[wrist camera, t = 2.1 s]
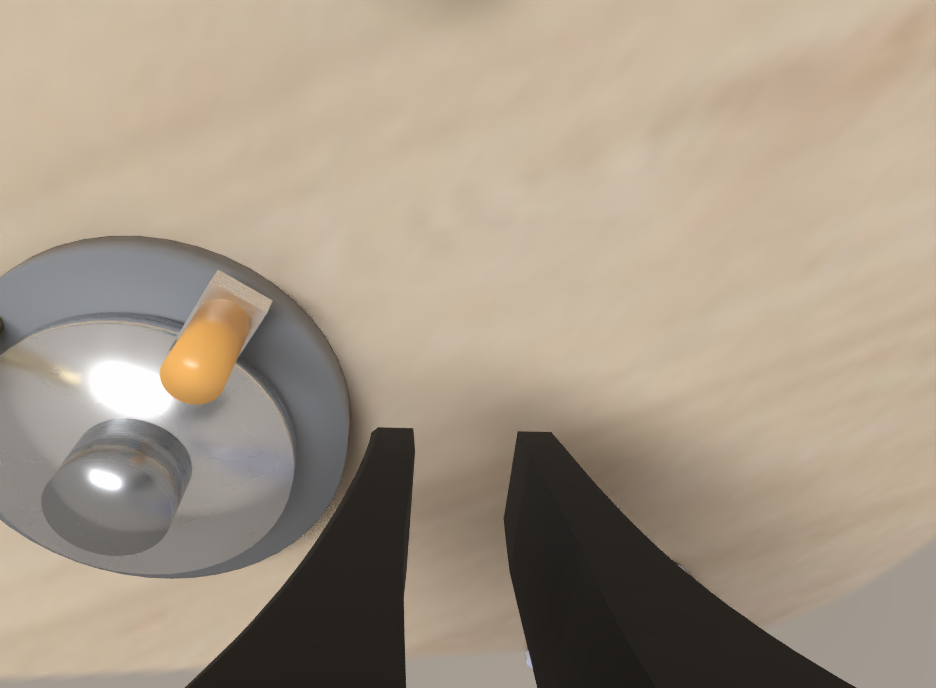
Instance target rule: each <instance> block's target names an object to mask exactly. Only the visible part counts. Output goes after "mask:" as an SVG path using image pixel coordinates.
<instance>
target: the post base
mask: <svg viewBox="0 0 936 688" xmlns="http://www.w3.org/2000/svg"><path fill="white" fill-rule="evenodd" d="M217 270H220V271H221V272H223V273H225V274H227V275H229V276H230V277H232V278H234V279H236V280H237V281H239V282H241V283H243V284H244V285H246V286H248V287H250V288H251V289H253V290H255V291H257V292H258V293H260V294H262V295H264V296H265V297H267V298H269V299H271V300H272V303H271V305H270V308H269V310H268V312H267V314H266V316H265V317H264V319H263V320H262V322H261V323H260V325H259V326H258V328H257V329H256V331H255V333H254V334H253V336H252V337H251V339H250V340H249V342H248V343H247V345H246V346H245V348H244V349H243V351H242V352H241V354H240V355H241V356H242V357H244V358H245V359H246V360H248V361H249V362H250V363H251V364H252V365H253V366H254V367H255V368H256V369H257V370H258V371H259V372H260V373H261V374H262V375H263V376H264V377H265V378H266V379H267V381H268V382H269V383H270V384H271V386H272V387H273V388H274V389H275V391H276V392H277V394H278V396H279V397H280V399H281V401H282V402H283V404H284V405H285V408H286V410H287V412H288V415H289V417H290V419H291V422H292V426H293V429H294V433H295V437H296V448H297V459H296V469H295V473H294V478H293V482H292V486H291V490H290V495H289V499H288V501H287V503H286V506H285V508H284V510H283V512H282V514H281V515H280V517H279V519H278V520H277V522H276V523H275V525H274V526H273V527H272V528H271V529H270V530H269V531H268V533H267V534H266V535H265V536H264V537H263V538H262V539H260V540H259V541H258V542H257V543H256V544H254V545H253V546H252V547H250V548H249V549H247V550H246V551H244V552H242V553H241V554H239V555H237V556H235V557H233V558H231V559H229V560H227V561H225V562H222V563H219V564H216V565H213V566H210V567H207V568H203V569H199V570H194V571H190V572H183V573H175V574H155V575H150V574H133V573H126V572H119V571H112V570H108V569H104V568H99V567H95V566H92V565H89V564H85V563H82V562H79V561H76V560H74V559H71V558H69V557H66V556H64V555H62V554H59V553H57V552H55V551H53V550H51V549H49V548H48V547H46V546H44V545H42V544H40V543H38V542H37V541H35V540H34V539H32V538H31V537H29V536H28V535H26V534H25V533H23V532H22V531H21V530H19V529H18V528H17V527H16V526H14V525H13V524H12V523H11V522H10V521H8V520H7V519H6V518H5V517H4V516H3V515H2V514H1V513H0V520H2V521H3V522H4V523H5V524H7V525H8V526H9V527H11V528H12V529H14V530H15V531H17V532H18V533H20V534H21V535H23V536H24V537H26V538H28V539H29V540H31V541H33V542H35V543H36V544H38V545H40V546H42V547H44V548H46V549H48V550H50V551H52V552H54V553H56V554H59V555H61V556H64V557H66V558H69V559H71V560H73V561H76V562H79V563H82V564H85V565H89V566H92V567H95V568H98V569H102V570H107V571H111V572H116V573H120V574H125V575H133V576H140V577H148V578H170V579H172V578H195V577H202V576H209V575H216V574H221V573H225V572H229V571H233V570H237V569H241V568H243V567H246V566H249V565H252V564H255V563H258V562H260V561H262V560H264V559H266V558H268V557H270V556H272V555H274V554H276V553H278V552H280V551H281V550H283V549H284V548H286V547H288V546H289V545H291V544H292V543H294V542H295V541H296V540H297V539H299V538H300V537H301V536H302V535H303V534H305V533H306V532H307V531H308V530H309V529H310V528H311V527H312V526H313V525H314V524H315V523H316V521H317V520H318V519H319V518H320V517H321V516H322V515H323V513H324V511H325V510H326V508H327V507H328V505H329V504H330V502H331V501H332V499H333V497H334V495H335V493H336V490H337V488H338V486H339V484H340V481H341V477H342V473H343V470H344V466H345V460H346V453H347V445H348V437H349V426H350V404H349V395H348V391H347V386H346V382H345V377H344V375H343V372H342V370H341V367H340V365H339V362H338V359H337V357H336V355H335V353H334V352H333V350H332V348H331V346H330V344H329V343H328V341H327V339H326V337H325V336H324V335H323V333H322V332H321V331H320V329H319V328H318V327H317V325H316V324H315V323H314V321H313V320H312V319H311V318H310V317H309V316H308V315H307V313H306V312H305V311H304V310H303V309H302V308H301V307H300V306H299V305H298V304H297V303H296V302H295V301H294V300H293V299H292V298H290V297H289V296H288V295H287V294H285V293H284V292H283V291H282V290H280V289H279V288H278V287H277V286H276V285H274V284H273V283H272V282H270V281H268V280H267V279H265V278H264V277H262V276H261V275H259V274H257V273H256V272H254V271H253V270H251V269H250V268H247V267H245V266H243V265H241V264H239V263H237V262H235V261H233V260H231V259H229V258H227V257H225V256H222V255H220V254H217V253H214V252H211V251H208V250H206V249H203V248H200V247H197V246H193V245H189V244H185V243H181V242H176V241H172V240H168V239H159V238H151V237H142V236H107V237H99V238H91V239H83V240H79V241H75V242H71V243H67V244H63V245H60V246H56V247H54V248H51V249H49V250H46V251H44V252H42V253H39V254H37V255H35V256H32V257H31V258H29V259H27V260H26V261H24V262H22V263H21V264H19V265H18V266H16V267H14V268H13V269H11V270H10V271H8V272H7V273H5V274H4V275H2V276H1V277H0V355H1V354H2V353H3V352H4V351H6V350H7V349H8V348H9V347H10V346H12V345H13V344H14V343H15V342H17V341H18V340H19V339H20V338H22V337H23V336H25V335H27V334H28V333H30V332H32V331H34V330H36V329H37V328H39V327H41V326H44V325H47V324H49V323H52V322H54V321H57V320H60V319H64V318H68V317H73V316H77V315H83V314H92V313H101V312H125V313H134V314H142V315H149V316H154V317H158V318H163V319H167V320H171V321H174V322H177V323H180V324H183V325H184V324H185V322H186V320H187V319H188V317H189V315H190V314H191V312H192V310H193V309H194V307H195V305H196V304H197V302H198V300H199V299H200V297H201V295H202V294H203V292H204V290H205V289H206V287H207V285H208V284H209V282H210V281H211V279H212V278H213V276H214V275H215V273H216V272H217Z"/></svg>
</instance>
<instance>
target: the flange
mask: <svg viewBox="0 0 936 688" xmlns="http://www.w3.org/2000/svg"><path fill="white" fill-rule="evenodd" d="M271 303H272V300H271V299H269V298H267V297H265V296H264V295H262V294H260V293H258V292H257V291H255V290H253V289H251V288H250V287H248V286H246V285H244V284H243V283H241V282H239V281H237V280H236V279H234V278H232V277H230V276H229V275H227V274H225V273H223V272H221V271H220V270H217V272H216V273H215V275H214V276H213V278H212V279H211V281H210V282H209V284H208V285H207V287H206V289H205V290H204V292H203V294H202V295H201V297H200V299H199V300H198V302H197V304H196V305H195V307H194V309H193V310H192V312H191V314H190V315H189V317H188V319H187V320H186V322H185V324H184V325H183V324H180V323H177V322H174V321H171V320H167V319H163V318H158V317H154V316H149V315H142V314H134V313H125V312H101V313H92V314H83V315H77V316H73V317H68V318H64V319H60V320H57V321H54V322H52V323H49V324H47V325H44V326H41V327H39V328H37V329H36V330H34V331H32V332H30V333H28V334H27V335H25V336H23V337H22V338H20V339H19V340H18V341H17V342H15V343H14V344H13V345H12V346H10V347H9V348H8V349H7V350H6V351H4V352H3V353H2V354H1V355H0V513H1V514H2V515H3V516H4V517H5V518H6V519H7V520H8V521H10V522H11V523H12V524H13V525H14V526H16V527H17V528H18V529H19V530H21V531H22V532H23V533H25V534H26V535H28V536H29V537H31V538H32V539H34V540H35V541H37V542H38V543H40V544H42V545H44V546H46V547H48V548H49V549H51V550H53V551H55V552H57V553H59V554H62V555H64V556H66V557H69V558H71V559H74V560H76V561H79V562H82V563H85V564H89V565H92V566H95V567H99V568H104V569H108V570H112V571H119V572H126V573H133V574H150V575H155V574H175V573H183V572H190V571H194V570H199V569H203V568H207V567H210V566H213V565H216V564H219V563H222V562H225V561H227V560H229V559H231V558H233V557H235V556H237V555H239V554H241V553H242V552H244V551H246V550H247V549H249V548H250V547H252V546H253V545H254V544H256V543H257V542H258V541H259V540H260V539H262V538H263V537H264V536H265V535H266V534H267V533H268V531H269V530H270V529H271V528H272V527H273V526H274V525H275V523H276V522H277V520H278V519H279V517H280V515H281V514H282V512H283V510H284V508H285V506H286V503H287V501H288V499H289V495H290V490H291V486H292V482H293V478H294V473H295V469H296V459H297V448H296V437H295V433H294V429H293V426H292V422H291V419H290V417H289V415H288V412H287V410H286V408H285V405H284V404H283V402H282V401H281V399H280V397H279V396H278V394H277V392H276V391H275V389H274V388H273V387H272V386H271V384H270V383H269V382H268V381H267V379H266V378H265V377H264V376H263V375H262V374H261V373H260V372H259V371H258V370H257V369H256V368H255V367H254V366H253V365H252V364H251V363H250V362H249V361H248V360H246V359H245V358H244V357H242V356H241V355H240V354H241V352H242V351H243V349H244V348H245V346H246V345H247V343H248V342H249V340H250V339H251V337H252V336H253V334H254V333H255V331H256V329H257V328H258V326H259V325H260V323H261V322H262V320H263V319H264V317H265V316H266V314H267V312H268V310H269V308H270V305H271Z"/></svg>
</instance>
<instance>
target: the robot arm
mask: <svg viewBox="0 0 936 688" xmlns="http://www.w3.org/2000/svg"><path fill="white" fill-rule="evenodd" d="M414 458H415V445H414V432H413V428H380V427H378V428H377V429H376V430H374V431H373V432H372V433H371V437H370V441H369V444H368V447H367V450H366V453H365V455H364V458H363V460H362V462H361V465H360V467H359V469H358V471H357V473H356V475H355V477H354V479H353V481H352V483H351V485H350V487H349V488H348V490H347V492H346V494H345V496H344V498H343V499H342V501H341V503H340V505H339V507H338V508H337V510H336V512H335V513H334V515H333V516H332V518H331V519H330V521H329V522H328V524H327V525H326V527H325V529H324V530H323V532H322V533H321V535H320V536H319V538H318V539H317V541H316V542H315V544H314V545H313V547H312V548H311V550H310V551H309V552H308V554H307V555H306V556H305V558H304V559H303V561H302V562H301V563H300V565H299V566H298V567H297V569H296V570H295V571H294V572H293V574H292V575H291V576H290V577H289V579H288V580H287V581H286V582H285V584H284V585H283V586H282V587H281V589H280V590H279V591H278V592H277V593H276V594H275V596H274V597H273V598H272V599H271V600H270V601H269V603H268V604H267V605H266V606H265V607H264V608H263V609H262V611H261V612H260V613H259V614H258V615H257V616H256V617H255V619H254V620H253V621H252V622H251V623H250V624H249V625H248V626H247V627H246V628H245V629H244V630H243V631H242V633H241V634H240V635H239V636H238V637H237V638H236V639H235V640H234V641H233V642H232V643H231V644H230V645H229V646H228V647H227V648H226V649H224V650H223V651H222V652H221V653H220V654H219V655H218V656H217V657H216V658H215V659H214V660H213V661H212V662H211V663H210V664H209V665H208V666H207V667H206V668H205V669H204V670H203V671H202V672H201V673H200V674H199V675H198V676H197V677H196V678H195V679H194V680H193V681H191V682H190V683H189V684H188V685H187V686H186V687H185V688H406V673H405V640H404V589H405V580H406V570H407V556H408V542H409V528H410V514H411V500H412V486H413V472H414ZM504 525H505V535H506V544H507V553H508V561H509V570H510V575H511V579H512V583H513V588H514V592H515V596H516V600H517V605H518V609H519V613H520V617H521V622H522V626H523V630H524V634H525V638H526V642H527V647H528V651H527V652H526V654H525V660H526V664H527V665H528V666H529V667H530V668H531V669H532V670H533V671H534V676H535V680H536V684H537V688H856V687H854V686H852V685H851V684H849V683H847V682H845V681H843V680H842V679H840V678H838V677H837V676H835V675H833V674H832V673H830V672H828V671H827V670H825V669H824V668H822V667H820V666H818V665H817V664H815V663H814V662H812V661H810V660H809V659H807V658H805V657H804V656H802V655H800V654H799V653H797V652H795V651H794V650H792V649H791V648H789V647H788V646H786V645H785V644H783V643H782V642H780V641H779V640H777V639H776V638H774V637H773V636H771V635H770V634H768V633H767V632H765V631H764V630H762V629H761V628H759V627H758V626H757V625H755V624H754V623H752V622H751V621H750V620H748V619H747V618H745V617H744V616H742V615H741V614H740V613H738V612H737V611H735V610H734V609H733V608H731V607H730V606H728V605H727V604H726V603H724V602H723V601H722V600H720V599H719V598H718V597H717V596H715V595H714V594H713V593H711V592H710V591H709V590H707V589H706V588H705V587H704V586H702V585H701V584H700V583H699V582H698V581H696V580H695V579H694V578H693V577H692V576H690V575H689V574H688V573H687V572H686V571H685V570H684V568H683V567H681V566H680V565H677V564H676V563H675V562H673V561H672V560H671V559H670V558H669V557H668V556H667V555H666V554H664V553H663V552H662V551H661V550H660V549H659V548H658V547H657V546H656V545H655V544H654V543H653V542H652V541H651V540H649V539H648V538H647V537H646V536H645V535H644V534H643V533H642V532H641V531H640V530H639V529H638V528H637V527H636V526H635V525H634V524H633V523H632V522H631V521H630V520H629V519H628V518H627V517H626V516H625V515H624V514H623V513H622V512H621V511H620V510H619V509H618V508H617V507H616V506H615V505H614V503H613V502H612V501H611V500H610V499H609V498H608V497H607V496H606V495H605V494H604V493H603V492H602V490H601V489H600V488H599V487H598V486H597V485H596V484H595V483H594V481H593V480H592V479H591V478H590V477H589V476H588V475H587V473H586V472H585V471H584V470H583V469H582V468H581V466H580V465H579V464H578V463H577V462H576V461H575V459H574V458H573V457H572V456H571V455H570V454H569V452H568V451H567V450H566V449H565V448H564V446H563V445H562V444H561V443H560V442H559V441H558V440H557V438H556V437H555V436H554V435H553V434H552V433H551V432H523V431H518V433H517V439H516V446H515V452H514V458H513V464H512V471H511V477H510V483H509V489H508V496H507V502H506V508H505V514H504Z"/></svg>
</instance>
